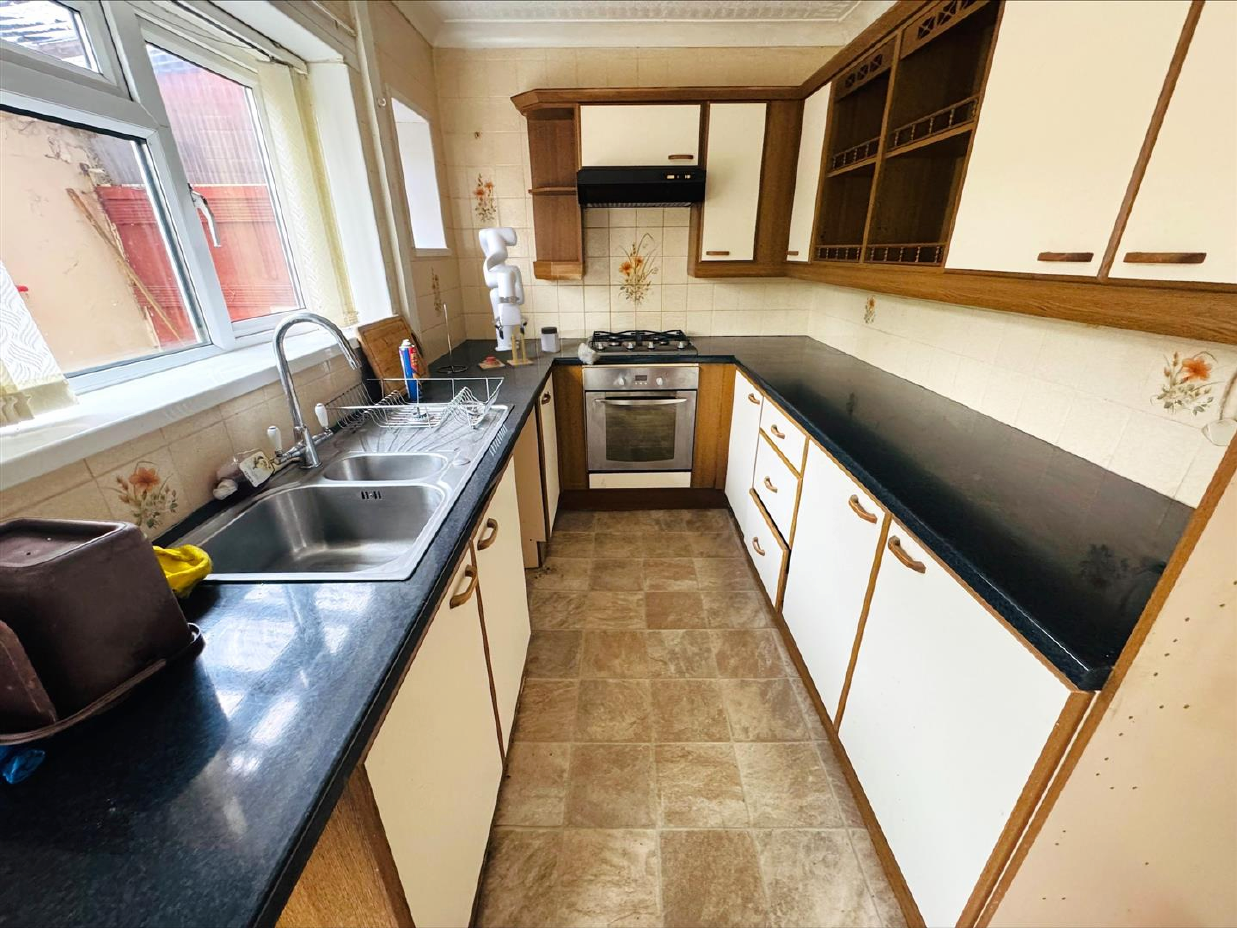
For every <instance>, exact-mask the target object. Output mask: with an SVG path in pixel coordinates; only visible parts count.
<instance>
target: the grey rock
mask: <svg viewBox="0 0 1237 928" xmlns="http://www.w3.org/2000/svg"><path fill="white" fill-rule="evenodd" d="M577 356H578V359H579V360H580V361H581V362H582V363H583V364H584V365H586V364H587V365H589V366H593V365H594V363H596V362H597V361H598V360H599V359H600V357H601V356H600V355H599V353H598V352H597V351H595V350H594V349H593V348H591V347H590V346H589V345H587V344H586V343H584V342H581V344H580V345H579V347H578V349H577Z"/></svg>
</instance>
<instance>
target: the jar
mask: <svg viewBox="0 0 1237 928" xmlns="http://www.w3.org/2000/svg"><path fill="white" fill-rule="evenodd" d="M540 332H541V333H540V343H541V350H542V351H545V352H550V353H552V354H554V353H555V354H556V353H558V352H560V336H559V332H558V327H557V326H544V327H541V328H540Z"/></svg>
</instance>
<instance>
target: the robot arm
mask: <svg viewBox="0 0 1237 928" xmlns="http://www.w3.org/2000/svg"><path fill="white" fill-rule="evenodd" d="M478 241H479V244H480V245H479V246H480V247H481V250H482V251H483V253H484V255H485V258H486V259H485V260H484V263H483V269H482V270H483V275H484V276H483V277H484V281H485V284H486V286H487V287H488V288H490V289H491V290H490V291H489V298H490V303H491V306H492V310H493V317H494V319H493V320H492V321H491V324H492V325H493V326H494V328H495V333H496V339H497V340H496V341H497V346H496V347H495V351H496V352H502V351H512V346H508V343H511V339H510V338H511V336H510V334H513V335H516V331H515V326H519V333H522V334H523V335H524V336H525V335H526V334H525V328H526V326H527V325H528V322H529V318H528V317H527V316H524V315H522V314H521V308H520V306H522V305H524V304H525V301H526V298H525V290H524V284H523V283H524V282H523V278H522V273H521V269H520V268H519V266H517V265H513V264H511V265H510V264H509V265H506V264H505V261H507V259H508V257H509V252H508V248H507V247H516V246H517V244H518V235H517V232H516V230H515V229H514V227H511V226H506V227H505V226H504V227H503V226H502V227H500V226H499V227H485V228H482V229H480V230H479V232H478ZM523 320H524V321H523ZM516 350H520V345H516Z"/></svg>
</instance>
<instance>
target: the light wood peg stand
mask: <svg viewBox="0 0 1237 928" xmlns="http://www.w3.org/2000/svg"><path fill="white" fill-rule="evenodd" d="M515 335H516V334H515ZM515 335H513V334H510V336H511V338H510V339H511V344H512V350H511V351H512V359H509V360H506V362H507V363H508V364H510V365H511V366H513V367H514V366H521V365H528V364H535V363H534V361H532V360H531V359H529V358H528V357H527V354H526V346H525V345H526V343H525V335H523V334H522V333H520V332H519V333H518V335H520V339H521V340H520V341H519V349H520V355H521V358H518V353H517V350H518V349H516V341H515Z"/></svg>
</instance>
